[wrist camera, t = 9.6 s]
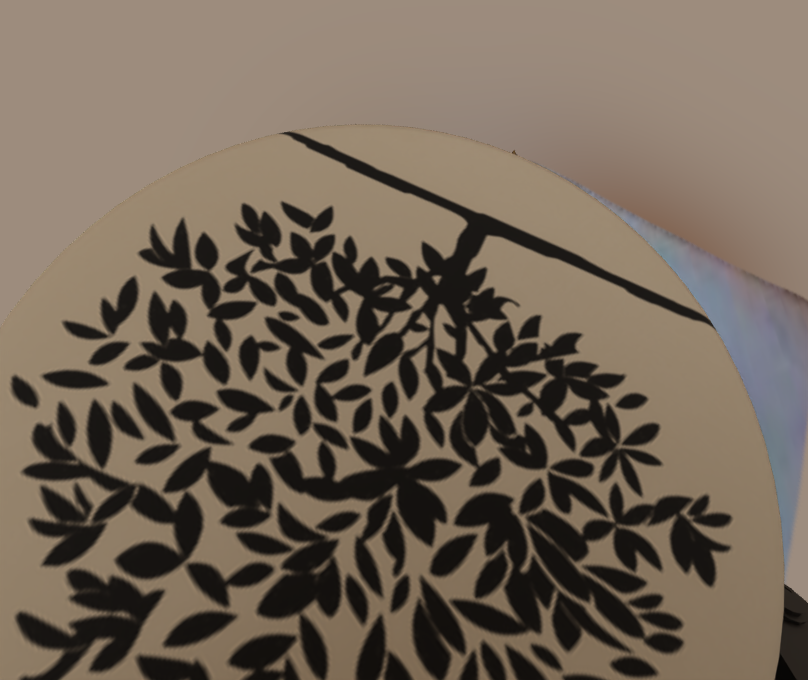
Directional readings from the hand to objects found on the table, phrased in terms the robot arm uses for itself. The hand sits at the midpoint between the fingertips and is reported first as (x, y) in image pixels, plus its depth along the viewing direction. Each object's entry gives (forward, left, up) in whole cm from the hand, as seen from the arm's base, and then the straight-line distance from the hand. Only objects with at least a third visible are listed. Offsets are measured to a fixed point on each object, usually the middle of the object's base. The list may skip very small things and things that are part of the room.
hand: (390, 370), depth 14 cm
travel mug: (+2, +3, -8) cm, 9 cm away
